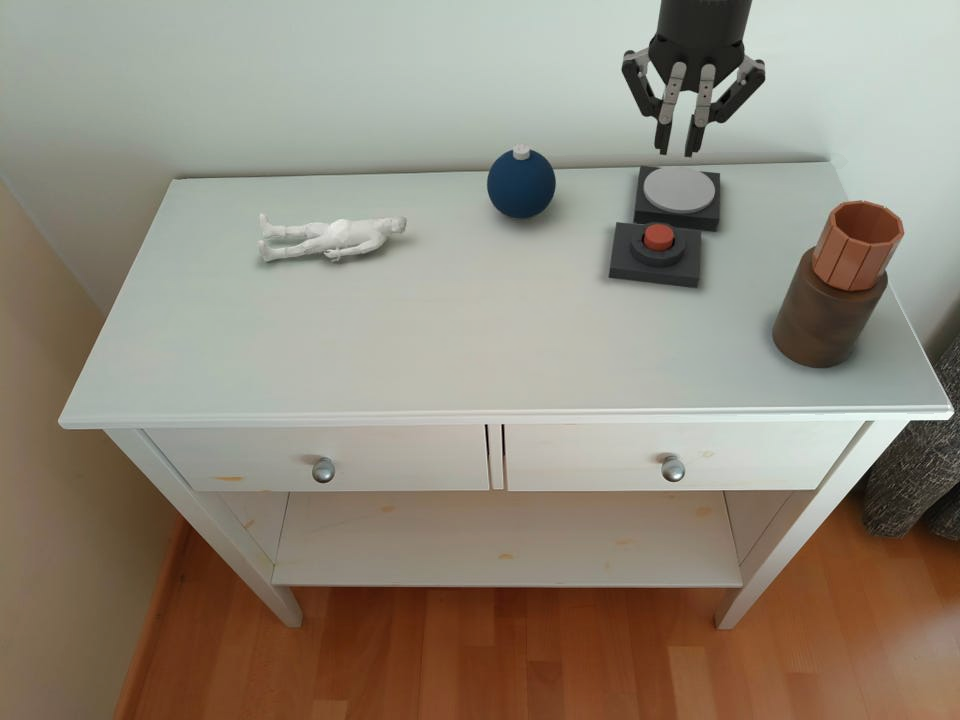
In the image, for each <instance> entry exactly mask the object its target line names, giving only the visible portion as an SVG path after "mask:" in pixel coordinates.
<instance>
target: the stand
mask: <svg viewBox="0 0 960 720" xmlns="http://www.w3.org/2000/svg"><path fill="white" fill-rule="evenodd" d="M815 247H816V245H814V246H812V247H810V248H808V249H807V250H806V251H805V252H804V253H803V254H802V256H801V257H800V259H799V263H798V264H797V267H796V270H795V271H794V274H793V277H792V279H791V281H790V284H789V287H788V289H787V292H786V293H785V296H784V299H783V301H782V304H781V306H780V309H779V311H778V313H777V316H776V318H775V320H774V323H773V325H772V328H771V334H772V335H771V336H772V339H773V342H774V345H775V346H776V347H777V349H778V350H779V351H780V353H782V354H783V356H785V357H787V358H788V359H789V360H791V361H792V362H795V363H798V364H800V365H802V366H806V367H810V368H815V369H816V368H817V369H826V368H831V367H835V366H837V365H840V364H841V363H843V362H844V361H845V360H846V359H847V358H848V357H849V356H850V354H851V352H852V351H853V348H854V347H855V345H856V343H857V341H858V339H859V338H860V336H861V334H862V332H863V331H864V329H865V328H866V325H867V323H868V322H869V320H870V318H871V316H872V315H873V312H874V311H875V309H876V307H877V305H878V304H879V302H880V300H881V298H882V297H883V295H884V293H885V291H886V290H887V287H888V284H889V276H888V272H887V270H886V269H885V271H884V273H883V275H882V276H881V278H880V279H879V280H878V281H877V282H876V283H875V284H874V285H873V286H872V287H871V288H869V289H862V290H855V291H848V290H841V289H838V288H835V287H832V286H830V285H828V284H827V283H825V282H824V281H823V280H822V279H821V278H820V277H819V276H818V275H817V274H816V273H815V272H814V270H813V268H812V258H811V257H812V255H813V252H814V250H815Z"/></svg>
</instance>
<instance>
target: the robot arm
mask: <svg viewBox="0 0 960 720" xmlns="http://www.w3.org/2000/svg"><path fill="white" fill-rule="evenodd" d="M752 5H753V0H660V6H659V12H658V19H657V25H656V31H655V33H654V35H653V37H652V38H651V39H650V40H649V43H648V47H646V48H643V49H641V50H639V51H635V50H633V49H629V50H626V51H625V52H624V53H623V57H622V63H621V73H622V75H623V77H624V80H625V83H626V84H627V86H628V89H629V90H630V93H631V95H632V97H633V100H634V101H635V103H636V105H637V107H638V110H639V112H640V114H641V116H642V117H645V118H649V117H652V118H654V119H655V120H656V128H655V133H654V142H653V144H654V149H655V150H659V156H660V155H661V156H667V154H668V150H669V149H668V148H669V145H670V138H671V134H672V129H673V119H674V111H675V108H676V105H677V103H678V99H679V97H680V93H682V92H688V91H690V92H692V93H695V94H696V101H695V108H694V113H692V114H691V115H690V120H689V125H688V129H687V135H686V140H685V144H684V155H683V156H684V158H693V153H699V151H700V150H701V149H702V144H703V139H704V134H705V130H706V127H707V126H708V125H709V124H711V123H714V122H716V123H718V124H725V123H726V122H727V121H729V120H730V118H732V116H733V115H735V113H736V112H737V111H738V110H739V109H740V108H741V107H742V106H743V105H744V104H745V103H747V101H748V100H749V99H750V98H751V97H752V95H754V94H755V92H756V91H757V90H759V88H760V87H761V86H762V85H763V84H764V83H765V82H766V63H765V62H764V60H763V59H761V58H757V59H755V60H754V59H752V58H751V57H750V56H748V55H747V54H746V52H745V51H746V48H745V45H744V41H743V40H744V37H745V31H746V28H747V24H748V20H749V17H750V13H751V9H752V8H751V7H752ZM650 62H651V64H652V66H653V67H654V69H655V71H656V72H657V74H658V76H659V77H660V79H661V81H662V82H663V84H664V88H663V91H662V95H661V98H658V97H656V94H655V93H654V91H653V88H652V86H651V83H650V81H649V79H648V77H647V74H648V68H649V63H650ZM736 70H737V71H736ZM735 71H736V79H735V81H734V82H733V83H732V84H731V85H730V86H729V87H728V88H727V89H726V90H725V91H724V92H723V93H722V94H721V95H720V97H718V99H717V100H716V101H713V102H712V96H713V91H714V89H715V88H717V87H718V86H719V85H720V84H721V83H723V81H724V80H726V79H727V78H728V77H729V76H731V74H732V73H733V72H735Z"/></svg>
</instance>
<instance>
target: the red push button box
mask: <svg viewBox="0 0 960 720" xmlns="http://www.w3.org/2000/svg"><path fill="white" fill-rule="evenodd" d="M655 224H661V225H665V226H668V227H669V228H670V229H671V230H672V231H673V233H674V237H673V242H672V245H671V247H670V248H669V249H667V250H665V251H653V250H651V249H649V248H648V247H646V245H645V243H644V237H645V231H646V229H647V228H648V227H649V226H651V225H655ZM701 248H702V230H697V229H687V228H678V227H673V226H671V225H669V224H667V223H658V222H651V223H647V224H641V223H629V222H621V221H616V222H615V229H614V235H613V243H612V250H611V257H610V263H609V271H608V278H609V279H618V280H626V281H633V282H635V281H636V282H643V283H651V284H652V283H653V284H659V285H668V286H675V287H676V286H678V287H686V288H693V289H698V287H699V282H700V278H701V254H702V249H701Z"/></svg>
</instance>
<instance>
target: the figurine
mask: <svg viewBox="0 0 960 720" xmlns="http://www.w3.org/2000/svg"><path fill="white" fill-rule="evenodd" d="M408 221H409V218H408V217H406V216H404V215H401V214H399V215H397V216H396V218H392V217H386V218H380V219H379V218H372V219H359V220H354V221H351V220H349V219H343V218H339V219H336V220H335V221H332V223H327V222H321V221H314V222H311V223H306V224H301V225H290V226H288V225H276V224H275V225H274V224H273V223H271V222H270V221H269V217H268V215H267V214H265V213H260V214H259V224H260V227H261V229H262V230H263V231H262V236H263V238H264V240H263V239H262V240H261V239H259V240H258V242H257V249H258V251H259V253H260V254H261V256H262V259H263V260H264V262H271V261H275V260H277V259H289V258H296V257H301V256H303V255H312V254H315V255H319V254H322V253H323V254H324V256H325V257H326V258H330V259H331V260H330V261H331V263H334V262H338V261H340V259H341V257H342V256H352V255H360V254H362V255H364V254H367V253H369V252H372V251H375V250H378V249H379V248H380V247H381V246H383V244H384V243H385V242H386V241H387V240H388V236H390V235H393V234H400V235H402V234H404V233H405V232H406V230H407V229H406V227H407V224H408ZM275 237H276V238H277V237H278V238H283V239H287V238H296V239H297V238H298V239H301V238H307V239H306V240H305V241H303V242H300V243H298V245H294V246H288V247H286V246H283V247H281V248H273V247H270V246H269V245H267V242H266V241H265V240H269V239H272V238H275ZM308 238H309V239H308Z"/></svg>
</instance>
